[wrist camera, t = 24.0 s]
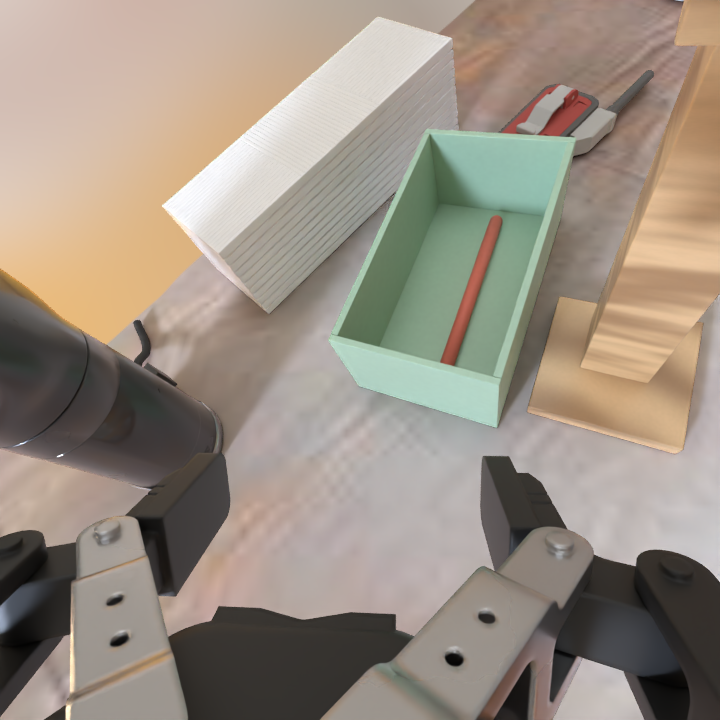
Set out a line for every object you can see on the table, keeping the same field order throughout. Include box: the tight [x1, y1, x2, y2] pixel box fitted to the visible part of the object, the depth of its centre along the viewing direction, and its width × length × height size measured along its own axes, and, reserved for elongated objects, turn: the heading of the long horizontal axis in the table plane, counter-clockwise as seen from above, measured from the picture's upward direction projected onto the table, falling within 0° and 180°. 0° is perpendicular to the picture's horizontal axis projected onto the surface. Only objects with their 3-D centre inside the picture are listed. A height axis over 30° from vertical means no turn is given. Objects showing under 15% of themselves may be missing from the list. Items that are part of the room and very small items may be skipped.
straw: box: [440, 215, 503, 366], centre depth 43 cm, size 20×1×1 cm
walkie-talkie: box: [498, 70, 654, 156], centre depth 49 cm, size 9×4×20 cm
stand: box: [527, 0, 720, 454], centre depth 24 cm, size 12×11×33 cm
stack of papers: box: [162, 17, 459, 314], centre depth 50 cm, size 32×11×11 cm, turn 134°
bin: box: [328, 129, 577, 428], centre depth 40 cm, size 23×13×10 cm, turn 157°
